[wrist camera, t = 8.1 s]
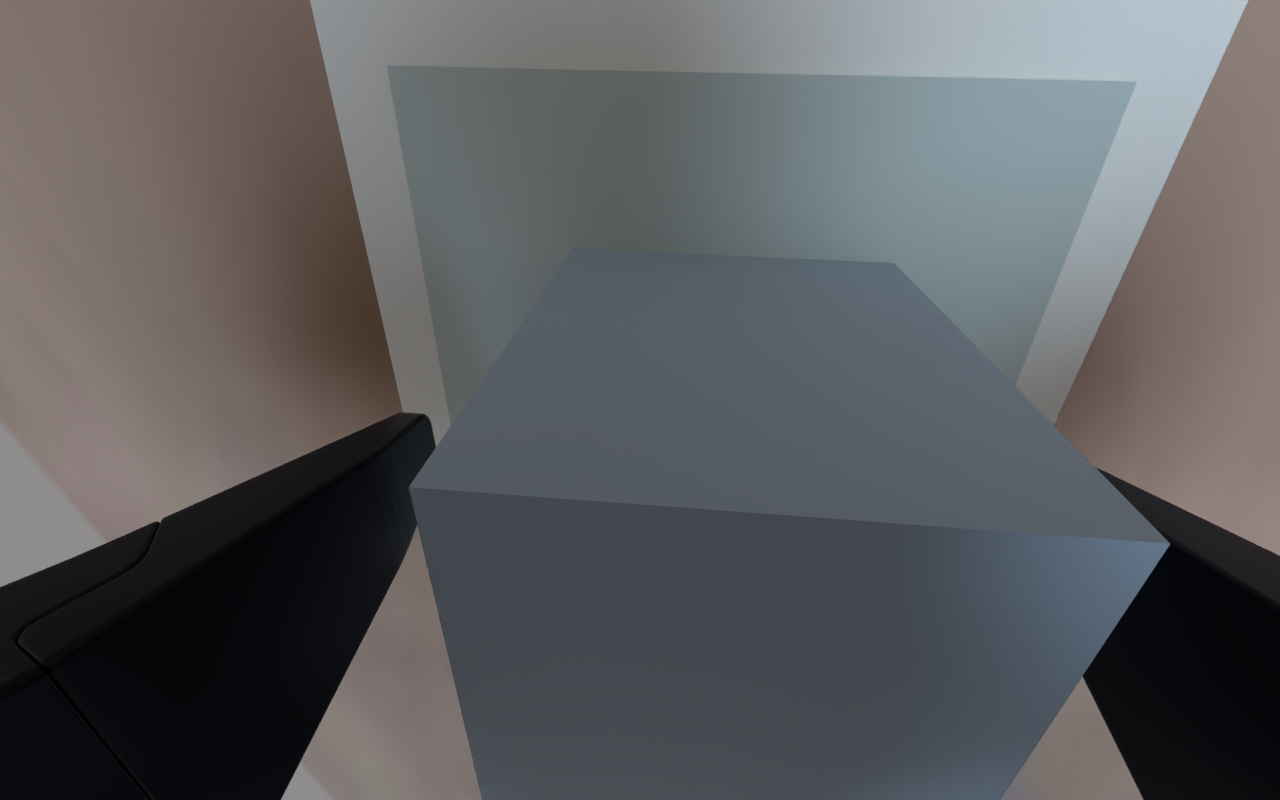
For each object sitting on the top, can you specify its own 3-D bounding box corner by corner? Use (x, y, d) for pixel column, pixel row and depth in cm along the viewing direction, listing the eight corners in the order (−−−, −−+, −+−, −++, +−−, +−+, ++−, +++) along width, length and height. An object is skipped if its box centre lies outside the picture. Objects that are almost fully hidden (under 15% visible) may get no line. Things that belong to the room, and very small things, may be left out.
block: (832, 511, 11) (943, 884, 6) (582, 493, 12) (490, 832, 7) (893, 263, 9) (1168, 542, 4) (572, 248, 9) (407, 486, 4)
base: (920, 555, 15) (960, 642, 13) (477, 521, 16) (441, 597, 14) (1122, 6, 9) (1263, -13, 7) (390, -3, 10) (298, -23, 8)
